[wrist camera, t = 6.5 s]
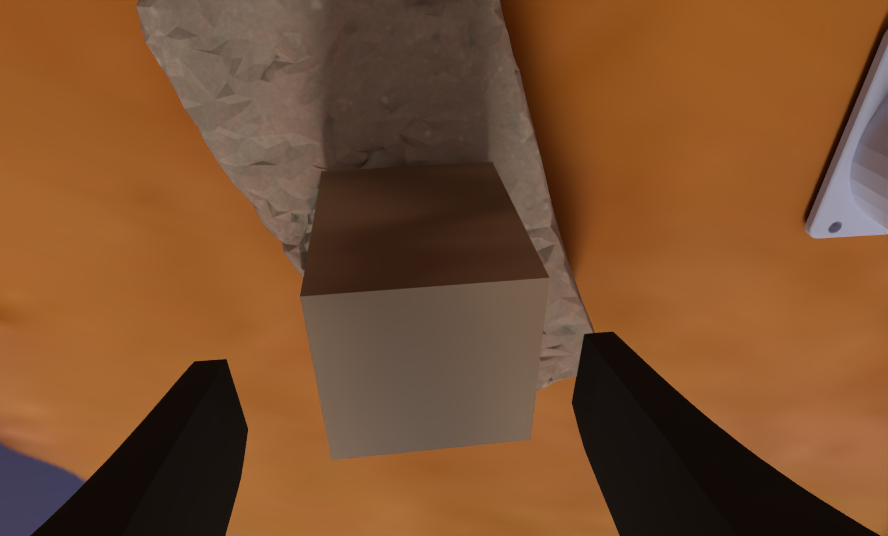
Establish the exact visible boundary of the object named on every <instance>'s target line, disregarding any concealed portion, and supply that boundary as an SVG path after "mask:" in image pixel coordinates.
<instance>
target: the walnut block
mask: <svg viewBox="0 0 888 536" xmlns="http://www.w3.org/2000/svg"><path fill="white" fill-rule="evenodd" d="M549 279H550V277H549V275H548V273H547V271H546V269H545V267H544V265H543V263H542V261H541V259H540V257H539V255H538V253H537V251H536V249H535V247H534V245H533V243H532V241H531V239H530V237H529V235H528V233H527V231H526V229H525V227H524V225H523V223H522V221H521V219H520V217H519V215H518V213H517V211H516V209H515V207H514V205H513V203H512V201H511V198H510V196H509V194H508V192H507V190H506V188H505V186H504V184H503V182H502V180H501V178H500V176H499V174H498V172H497V170H496V168H495V166H494V164H493V162H481V163H462V164H444V165H426V166H408V167H389V168H371V169H353V170H335V171H322V172H321V178H320V183H319V189H318V195H317V201H316V207H315V213H314V219H313V224H312V230H311V236H310V242H309V248H308V254H307V259H306V265H305V271H304V277H303V283H302V289H301V295H300V298H301V304H302V309H303V314H304V319H305V324H306V330H307V335H308V340H309V345H310V350H311V356H312V361H313V366H314V371H315V377H316V382H317V387H318V392H319V397H320V403H321V408H322V413H323V418H324V423H325V429H326V434H327V439H328V444H329V449H330V455H331V460H337V459H346V458H356V457H366V456H375V455H385V454H395V453H404V452H414V451H424V450H433V449H443V448H453V447H462V446H472V445H482V444H491V443H501V442H511V441H520V440H530V438H531V429H532V421H533V413H534V404H535V396H536V388H537V379H538V371H539V362H540V354H541V346H542V337H543V329H544V321H545V312H546V304H547V295H548V287H549Z"/></svg>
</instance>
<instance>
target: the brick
mask: <svg viewBox="0 0 888 536" xmlns="http://www.w3.org/2000/svg"><path fill="white" fill-rule="evenodd" d="M136 8H137V10H138V13H139V16H140V25H141V29H142V33H143V36H144V39H145V42H146V43H147V45H148V47H149V48H150V50H151V52H152V53H153V55H154V56H155V58H156V60H157V61H158V63H159V64H160V66H161V67H162V69H163V70H164V72H165V73H166V74H167V76H168V78H169V80H170V82H171V83H172V85H173V87H174V89H175V91H176V93H177V95H178V96H179V98H180V100H181V102H182V104H183V106H184V108H185V110H186V111H187V113H188V114H189V116H190V117H191V118H192V120H193V121H194V123H195V124H196V125H197V127H198V128H199V131H200V133H201V135H202V137H203V139H204V141H205V142H206V144H207V146H208V147H209V149H210V150H211V152H212V154H213V155H214V157H215V159H216V160H217V162H218V163H219V165H220V166H221V167H222V169H223V170H224V171H225V173H226V174H227V175H228V177H229V178H230V180H231V181H232V182H233V184H234V185H235V186H236V187H237V188H238V189H239V190H240V191H241V192H242V193H243V194H244V195H245V196H246V197H247V198H248V199H249V200H250V201H251V202H252V204H253V206H254V208H255V210H256V212H257V214H258V216H259V218H260V220H261V221H262V223H263V225H264V226H265V227H266V228H267V229H268V230H269V231H270V232H271V233H272V234H273V235H274V236H275V237H276V238H277V239H278V240H280V241H282V242H283V243H282V244H283V250H284V253H285V255H286V256H287V258H288V259H289V261H290V262H291V264H292V265H293V266H294V267H295V268H296V269H297V271H298V272H299V273H300V274H301V276H302V277H304V271H305V265H306V259H307V254H308V248H309V242H310V236H311V230H312V224H313V219H314V213H315V207H316V201H317V195H318V189H319V183H320V178H321V172H322V171H335V170H353V169H371V168H389V167H408V166H426V165H444V164H462V163H481V162H493V164H494V166H495V168H496V170H497V172H498V174H499V176H500V178H501V180H502V182H503V184H504V186H505V188H506V190H507V192H508V194H509V196H510V198H511V201H512V203H513V205H514V207H515V209H516V211H517V213H518V215H519V217H520V219H521V221H522V223H523V225H524V227H525V229H526V231H527V233H528V235H529V237H530V239H531V241H532V243H533V245H534V247H535V249H536V251H537V253H538V255H539V257H540V259H541V261H542V263H543V265H544V267H545V269H546V271H547V273H548V275H549V277H550V279H549V287H548V295H547V304H546V312H545V321H544V329H543V337H542V346H541V354H540V362H539V371H538V379H537V388H536V391H538V390H541V389H543V388H546V387H548V386H549V385H550V384H551V383H553V382H556V381H559V380H563V379H567V378H571V377H575V376H577V371H578V365H579V360H580V354H581V348H582V343H583V337H584V334H588V333H595V332H594V329H593V326H592V324H591V321H590V319H589V316H588V314H587V312H586V309H585V307H584V304H583V302H582V300H581V297H580V294H579V291H578V288H577V285H576V282H575V279H574V277H573V273H572V269H571V267H570V265H569V262H568V258H567V255H566V252H565V248H564V245H563V242H562V238H561V235H560V232H559V228H558V225H557V221H556V218H555V214H554V210H553V207H552V203H551V199H550V195H549V190H548V186H547V181H546V177H545V173H544V169H543V164H542V160H541V156H540V152H539V148H538V144H537V139H536V135H535V131H534V127H533V123H532V119H531V115H530V111H529V108H528V104H527V100H526V97H525V93H524V88H523V84H522V79H521V74H520V71H519V68H518V66H517V63H516V61H515V58H514V56H513V52H512V48H511V43H510V39H509V34H508V31H507V28H506V26H505V21H504V17H503V12H502V8H501V4H500V0H139V1H138V3H137V5H136Z"/></svg>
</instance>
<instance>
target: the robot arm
mask: <svg viewBox="0 0 888 536" xmlns="http://www.w3.org/2000/svg"><path fill="white" fill-rule="evenodd" d="M833 223H834V224H833ZM831 224H833V225H832V226H830V225H831ZM805 231H806V233H808V234H809V235H810V236H812V237H813V238H833V237H849V236H866V235H882V234H888V29H887V31H886V32H885V34H884V36H883V38H882V41H881V43H880V45H879V48H878V50H877V53H876V55H875V58H874V60H873V62H872V65H871V67H870V70H869V72H868V74H867V77H866V79H865V82H864V84H863V87H862V89H861V91H860V94H859V96H858V99H857V101H856V103H855V106H854V108H853V111H852V113H851V116H850V118H849V120H848V123H847V125H846V128H845V130H844V132H843V135H842V137H841V140H840V142H839V145H838V147H837V149H836V152H835V154H834V157H833V159H832V161H831V164H830V166H829V169H828V171H827V174H826V176H825V178H824V181H823V183H822V186H821V188H820V190H819V193H818V195H817V198H816V200H815V203H814V205H813V207H812V210H811V212H810V215H809V217H808V219H807V222H806V224H805ZM572 405H573V409H574V413H575V417H576V421H577V424H578V428H579V432H580V435H581V439H582V442H583V446H584V449H585V452H586V454H587V457H588V459H589V462H590V464H591V467H592V469H593V472H594V474H595V476H596V479H597V481H598V484H599V486H600V489H601V491H602V494H603V496H604V498H605V501H606V503H607V506H608V508H609V511H610V513H611V515H612V518H613V520H614V523H615V525H616V528H617V530H618V532H619V535H620V536H880V535H878V534H877V533H875V532H873V531H871V530H870V529H868V528H866V527H864V526H863V525H861V524H859V523H858V522H856V521H855V520H853V519H851V518H850V517H848V516H846V515H845V514H843V513H842V512H840V511H838V510H837V509H835V508H833V507H832V506H830V505H829V504H827V503H825V502H824V501H822V500H821V499H819V498H817V497H816V496H814V495H813V494H811V493H810V492H808V491H807V490H805V489H804V488H802V487H801V486H799V485H798V484H796V483H795V482H793V481H792V480H790V479H789V478H788V477H786V476H785V475H783V474H782V473H780V472H779V471H778V470H776V469H775V468H773V467H772V466H770V465H769V464H768V463H766V462H765V461H763V460H762V459H760V458H759V457H758V456H756V455H755V454H754V453H752V452H751V451H750V450H748V449H747V448H746V447H744V446H743V445H742V444H740V443H739V442H738V441H737V440H735V439H734V438H733V437H732V436H730V435H729V434H728V433H727V432H725V431H724V430H723V429H721V428H720V427H719V426H718V425H716V424H715V423H714V422H713V421H711V420H710V419H709V418H708V417H707V416H705V415H704V414H703V413H702V412H701V411H700V410H698V409H697V408H696V407H695V406H694V405H692V404H691V403H690V402H689V401H688V400H687V399H686V398H684V397H683V396H682V395H681V394H680V393H679V392H678V391H676V390H675V389H674V388H673V387H672V386H671V385H670V384H669V383H668V382H666V381H665V380H664V379H663V378H662V377H661V376H660V375H659V374H658V373H657V372H656V371H654V370H653V369H652V368H651V367H650V366H649V365H648V364H647V363H646V362H645V361H644V360H643V359H642V358H641V357H640V356H638V355H637V354H636V353H635V352H634V351H633V350H632V349H631V348H630V347H629V346H628V345H627V344H626V343H625V342H624V341H622V340H621V339H620V338H619V337H618V336H617V335H616V334H615V333H614V332H602V333H588V334H584V337H583V343H582V348H581V354H580V360H579V365H578V371H577V377H576V382H575V388H574V393H573V399H572ZM247 433H248V427H247V424H246V421H245V417H244V414H243V411H242V408H241V405H240V401H239V398H238V395H237V392H236V389H235V385H234V382H233V379H232V376H231V373H230V369H229V366H228V363H227V360H226V359H223V360H209V361H195V362H194V363H193V364H192V365H191V366H190V367H189V368H188V369H187V370H186V371H185V373H184V374H183V375H182V376H181V377H180V378H179V379H178V381H177V382H176V383H175V384H174V385H173V386H172V388H171V389H170V390H169V391H168V392H167V393H166V395H165V396H164V397H163V398H162V399H161V400H160V402H159V403H158V404H157V405H156V406H155V407H154V409H153V410H152V411H151V412H150V413H149V414H148V415H147V417H146V418H145V419H144V420H143V421H142V422H141V423H140V425H139V426H138V427H137V428H136V429H135V430H134V431H133V432H132V433H131V435H130V436H129V437H128V438H127V439H126V440H125V441H124V442H123V443H122V445H121V446H120V447H119V448H118V449H117V450H116V451H115V452H114V453H113V454H112V456H111V457H110V458H109V459H108V460H107V461H106V462H105V463H104V464H103V465H102V466H101V467H100V468H99V469H98V470H97V471H96V472H95V473H94V474H93V475H92V476H91V477H90V478H89V479H88V480H87V481H86V482H85V483H84V484H83V486H82V487H81V488H80V489H79V490H78V491H77V492H76V493H75V494H74V495H73V496H72V497H71V498H70V499H69V500H68V501H67V502H66V503H65V504H64V505H63V506H62V507H61V508H60V509H58V510H57V511H56V512H55V513H54V515H52V516H51V517H50V518H49V519H48V520H47V521H46V522H45V523H44V524H43V525H42V526H41V527H39V528H38V529H37V530H36V531H35V532H34V533H33V534H32V535H31V536H225V535H226V531H227V527H228V524H229V520H230V517H231V513H232V509H233V506H234V502H235V498H236V495H237V491H238V487H239V483H240V480H241V474H242V468H243V462H244V455H245V448H246V441H247Z"/></svg>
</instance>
